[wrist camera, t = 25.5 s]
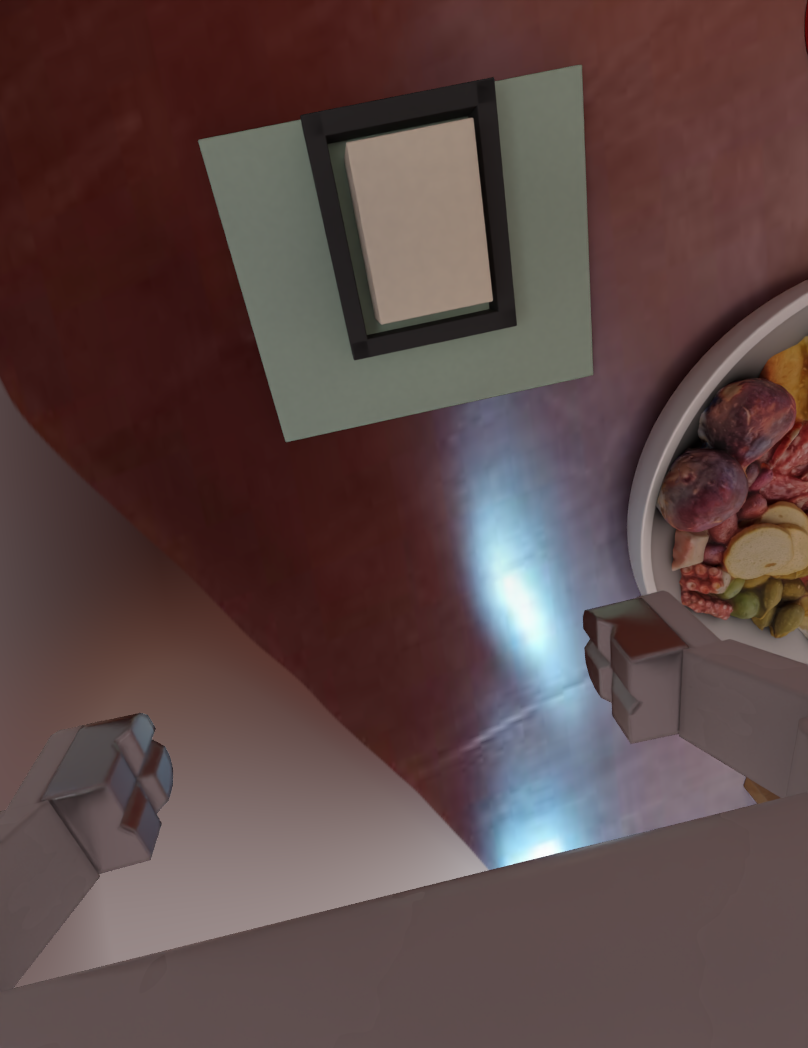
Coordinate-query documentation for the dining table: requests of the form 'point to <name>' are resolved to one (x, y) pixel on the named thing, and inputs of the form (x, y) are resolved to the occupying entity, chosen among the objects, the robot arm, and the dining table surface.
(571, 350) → the base mat
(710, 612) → the bowl
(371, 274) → the beige rectangular block
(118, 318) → the dining table surface
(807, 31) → the lever
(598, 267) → the dining table surface
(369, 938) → the robot arm
